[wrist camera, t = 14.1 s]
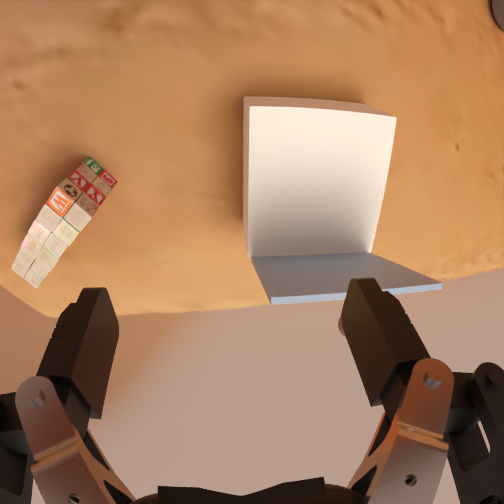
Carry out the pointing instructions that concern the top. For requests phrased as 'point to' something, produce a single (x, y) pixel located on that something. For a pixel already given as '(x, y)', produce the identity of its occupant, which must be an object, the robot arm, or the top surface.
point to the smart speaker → (498, 12)
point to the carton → (313, 175)
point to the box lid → (333, 276)
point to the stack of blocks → (62, 220)
